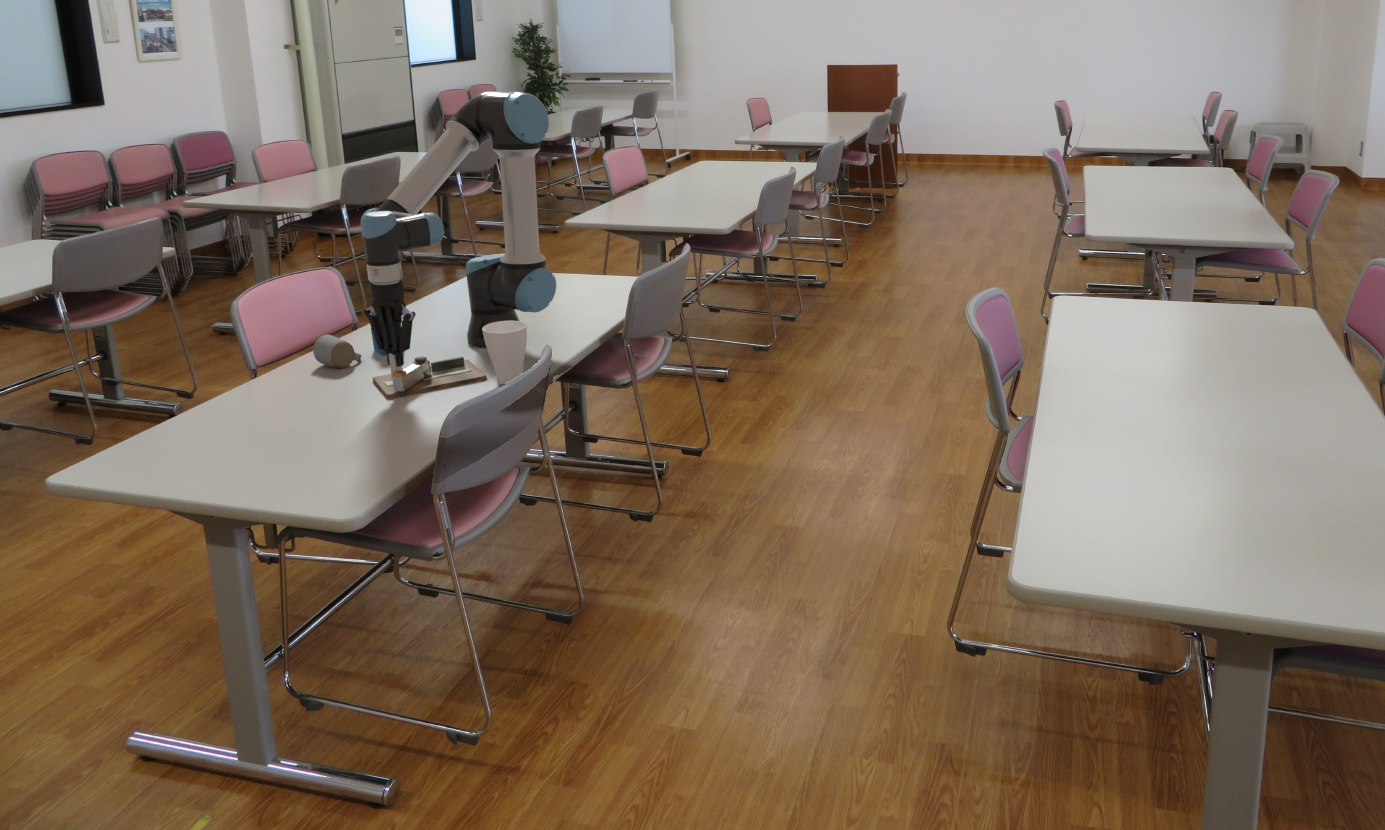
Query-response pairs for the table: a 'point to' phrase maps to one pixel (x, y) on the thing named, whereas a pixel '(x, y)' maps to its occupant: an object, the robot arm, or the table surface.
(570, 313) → the table surface
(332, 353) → the ceramic mug
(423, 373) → the swing bar
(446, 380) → the lock board
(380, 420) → the table surface
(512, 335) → the cup
